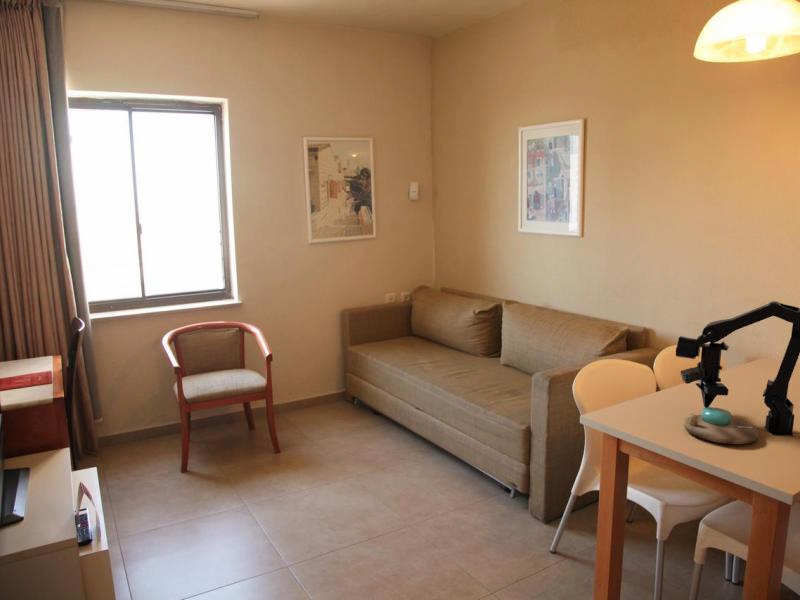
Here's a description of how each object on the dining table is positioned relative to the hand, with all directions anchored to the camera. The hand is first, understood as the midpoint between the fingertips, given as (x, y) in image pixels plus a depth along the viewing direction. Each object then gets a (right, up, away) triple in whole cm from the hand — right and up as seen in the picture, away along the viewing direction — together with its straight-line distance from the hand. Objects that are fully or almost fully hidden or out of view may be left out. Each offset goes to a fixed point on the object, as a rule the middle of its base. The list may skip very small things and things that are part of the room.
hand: (706, 407), depth 206 cm
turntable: (-2, -6, -13) cm, 14 cm away
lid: (-1, -3, -9) cm, 9 cm away
